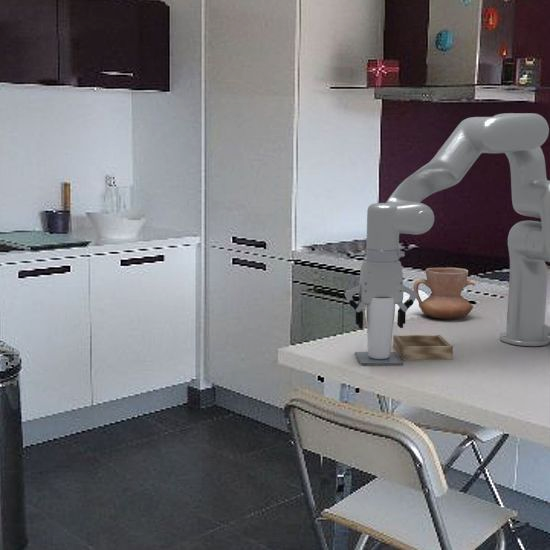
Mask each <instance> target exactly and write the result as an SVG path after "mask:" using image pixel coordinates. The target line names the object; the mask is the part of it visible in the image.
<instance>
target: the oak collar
mask: <svg viewBox="0 0 550 550" xmlns="http://www.w3.org/2000/svg"><path fill="white" fill-rule="evenodd" d="M392 340H393V341H392V344H393V345H392V347H393V349H394V350H395V352H396V353H397V355H398V356H399V357H400V358H402V359H401V360H453V352H454V351H453V350H454V347H453V346H452V344H450V343H449V341H447V340H446V339H445V338H444V337H443V336H442V335H441V334H392Z"/></svg>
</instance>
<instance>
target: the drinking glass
mask: <svg viewBox="0 0 550 550" xmlns="http://www.w3.org/2000/svg"><path fill="white" fill-rule="evenodd" d="M365 307H366V308H365V311H366V312H365V315H366V331H367V332H366V333H367V334H366V335H367V352H368V356H369V357H370V358H373V359H387V358H389V357H390V352H391V347H392V340H393V330H394V323H395V316H396V315H395V313H396V304H394V300H393V298H372V302H371V304H366V305H365Z"/></svg>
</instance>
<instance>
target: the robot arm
mask: <svg viewBox="0 0 550 550" xmlns="http://www.w3.org/2000/svg"><path fill="white" fill-rule="evenodd" d="M549 127H550V126H549V124H548V122H547V120H546V118H544V116H542V115H541V114H539V113H534V112H533V113H532V112H531V113H528V112H526V113H524V112H523V113H518V112H517V113H513V112H510V113H509V112H508V113H505V112H504V113H497V114H495V115H493V116H473V117H467V118H465V119H463V120H461V122H460V123H459V124H458V125H457V126H456V127H455V129H454V130H453V132H452V133H451V134H450V136H449V137H448V138H447V140H445V142H444V143H443V145H442V146H441V147H440V148H439V150H438V151H437V153H436V154H434V157H432V159H430V161H429V162H428V163H426V164H425V165H423V166H421V167H420V168H418V170H416V171H415V172H413V173H412V174H411V175H409V176H408V177H407V178H405V179H404V180H403V181H402V182H401V183H400V184H398V186H397V187H396V189H394V191H393V192H392V193H391V195H390V196H389V197H388V199H387V200H386V202H378V203H377V202H376V203H371V204H370V205H368V207H367V210H366V212H367V214H366V216H367V217H366V248H365V249H366V250H365V254H366V255H365V258H366V259H365V260H362V263H361V267H360V272H359V273H360V274H359V280H358V281H359V284H358V285H357V286H355V287H353V288H350V289H349V290H348V291H345V292H344V296H345V298H346V301H347V302H348V304H349V305H350V306H351V308H353V309H354V310H355V320H354V322H355V325H357V327H358V328H359V329H360V330H361V329H363V328H364V312H363V309H364V308H365V307H366V304H371V302H372V298H393V300H394V304H395V305H397V306H398V310H397V327H398V328H400V329H404V325H405V324H406V316H407V315H406V312H408V310H409V308H411V306H413V305H414V302H415V301H416V300H417V299H416V297H417V295H418V293H419V292H418V293H417V292H415V291H414V290H413V289H411V288H409V287H408V286H406V285H404V276H403V269H402V263H401V262H402V261H400V258H404V257H405V254H406V253H405V250H404V251H402V250H400V247H399V246H400V234H406V235H409V234H410V235H422V234H425V233H427V232H428V231H430V230H431V229H432V227H433V225H434V223H435V215H434V212H433V211H434V210H432V208H431V207H430V206H429V205H427V204H425V203H422V201H423V200H425V199H427V197H429V196H431V195H433V194H435V193H438V192H441V191H443V190H446V189H449V188H451V187H453V186H456V185H457V184H459V183H460V182H461V181H462V179H463V178H464V177H465V175H466V174H467V173H468V171H469V170H470V169H471V167H472V166H473V165H474V163H475V162H476V161H477V159H479V157H480V156H481V154H505V156H506V157H507V159H508V163H509V168H510V169H509V170H510V181H511V182H510V183H511V184H510V185H511V186H510V187H511V189H510V190H511V201H512V203H511V204H512V207H513V210H514V211H515V212H516V213H517V214H519V215H522V216H525V217H531V218H536V219H537V218H538V219H540V221H537V220H522V221H518V222H517V223H515V224H514V225H513V226H512V227H511V228H510V230H509V232H508V236H507V247H508V248H507V249H508V256H509V279H508V280H509V281H508V297H507V298H508V299H507V312H506V313H507V314H506V315H507V316H506V329H505V331H503V332H501V333H499V340H500V341H502V342H504V343H506V344H510V345H515V346H520V347H521V346H522V347H540V346H541V347H543V346H546V345H549V344H550V326H549V325H547V324H545V320H546V308H547V306H546V305H547V292H548V282H549V281H548V280H549V279H548V277H549V273H548V268H547V264H546V262H548V263H550V180H548V178H547V169H546V168H547V167H546V160H545V155H544V152H543V149H542V148H541V146H543V144H544V143H545V142H546V141H547V140H548V137H549V133H550V128H549ZM404 293H406V294H408V295H409V298H408V299H407V300H405V302H403V301H404ZM356 294H357V295H358V298H359V301H357V302H356V301H355V300H354V299H353V296H355V295H356Z"/></svg>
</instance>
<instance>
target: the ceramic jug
mask: <svg viewBox="0 0 550 550" xmlns="http://www.w3.org/2000/svg"><path fill="white" fill-rule="evenodd" d="M425 275H426V279H425V278H419V279H417V280H416V281H415V282H414V283H413V289H412V290H413V291H415V292H417V293H418V295H417V297H416V299H415V300H417V303H418V307H419V309H420V310H421V312H422V313H423V314H425V315H426V316H429V317H431V318H433V319H434V318H435V319H437V320H446V321H447V320H448V321H449V320H450V321H451V320H458V319H461V318H464V317H466V316H468V315H469V314H470V313H471V311H472V310H473V308H474V305H473V304H472V303H471V302H469V300H467V299H466V298H464V296H462V295H461V294H462V292H463V290H464V288H465V287H467V286H469V285H472V286H473V287H475V286H476V283H477V281H475V280H473V279H469V280H468V276H469V270H468V269H466V268H462V267H461V268H459V267H428V268H426V269H425ZM420 284H422V285H425V286H426V287H427V288H429V289H430V293H431V294H430V295H429V296H428V297H427V298H425V299H424V300H422V299H421V296H420V294H419V287H420Z"/></svg>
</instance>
